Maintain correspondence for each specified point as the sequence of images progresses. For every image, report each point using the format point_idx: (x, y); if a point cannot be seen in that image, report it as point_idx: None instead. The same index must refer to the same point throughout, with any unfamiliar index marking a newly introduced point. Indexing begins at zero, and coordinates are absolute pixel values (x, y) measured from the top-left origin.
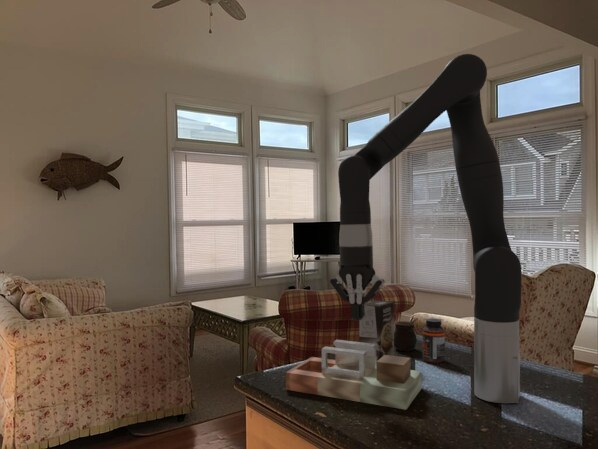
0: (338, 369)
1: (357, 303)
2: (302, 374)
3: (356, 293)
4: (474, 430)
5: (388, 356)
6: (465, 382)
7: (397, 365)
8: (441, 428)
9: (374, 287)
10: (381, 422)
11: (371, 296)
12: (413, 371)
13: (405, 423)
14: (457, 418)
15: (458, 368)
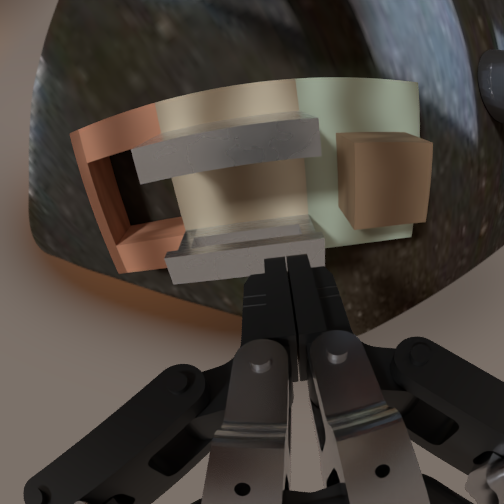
0: (234, 241)
1: (307, 377)
2: (156, 267)
3: (282, 426)
4: (474, 239)
5: (372, 156)
6: (450, 16)
7: (410, 222)
8: (442, 255)
9: (472, 460)
10: (365, 283)
11: (433, 412)
12: (402, 91)
13: (398, 267)
14: (462, 210)
15: None
